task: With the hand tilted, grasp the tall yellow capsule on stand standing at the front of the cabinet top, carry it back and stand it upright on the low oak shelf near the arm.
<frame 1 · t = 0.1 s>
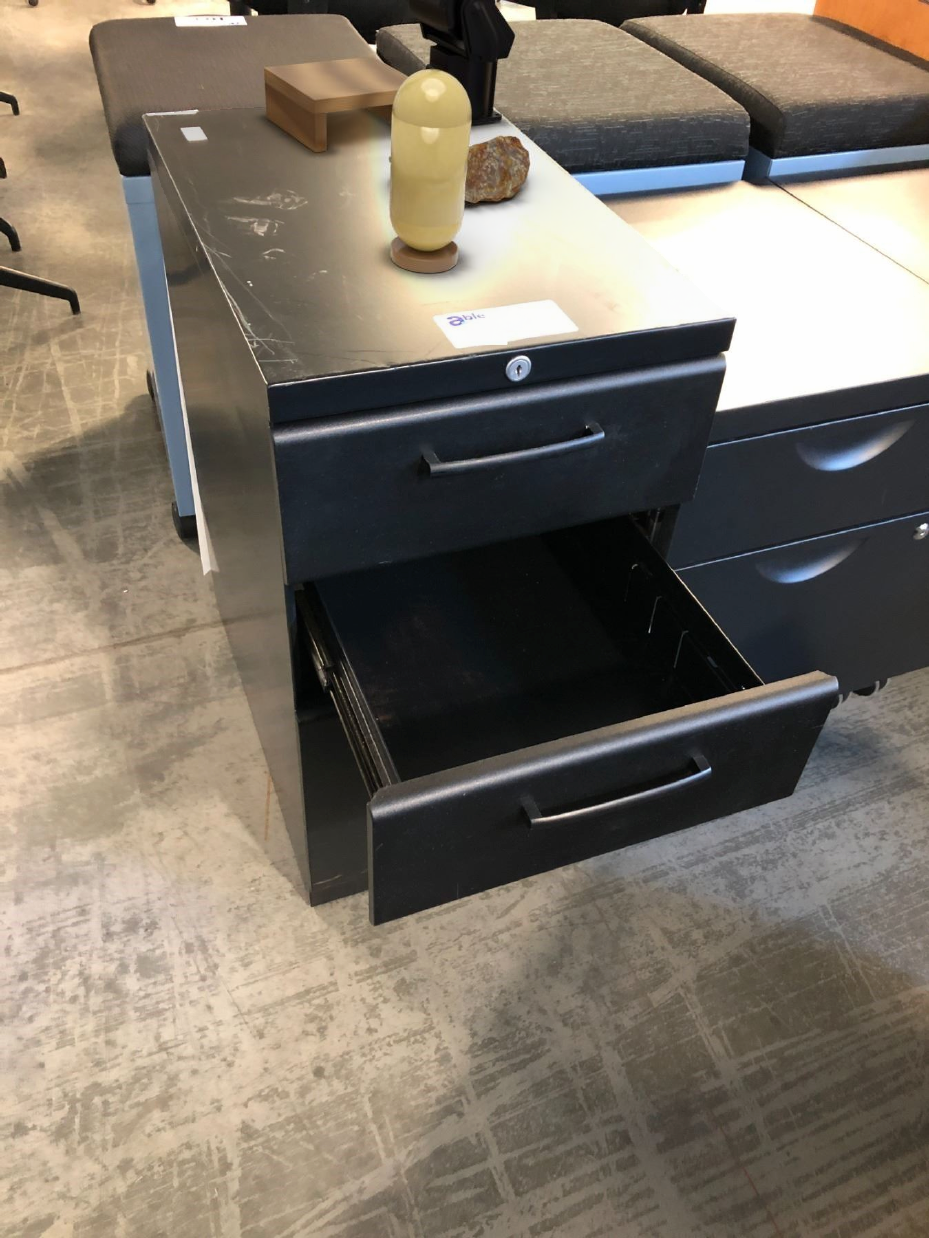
shelf: (345, 127, 95), on the table
decorative stone: (459, 189, 86), on the table
yellow capsule on stand: (423, 258, 75), on the table
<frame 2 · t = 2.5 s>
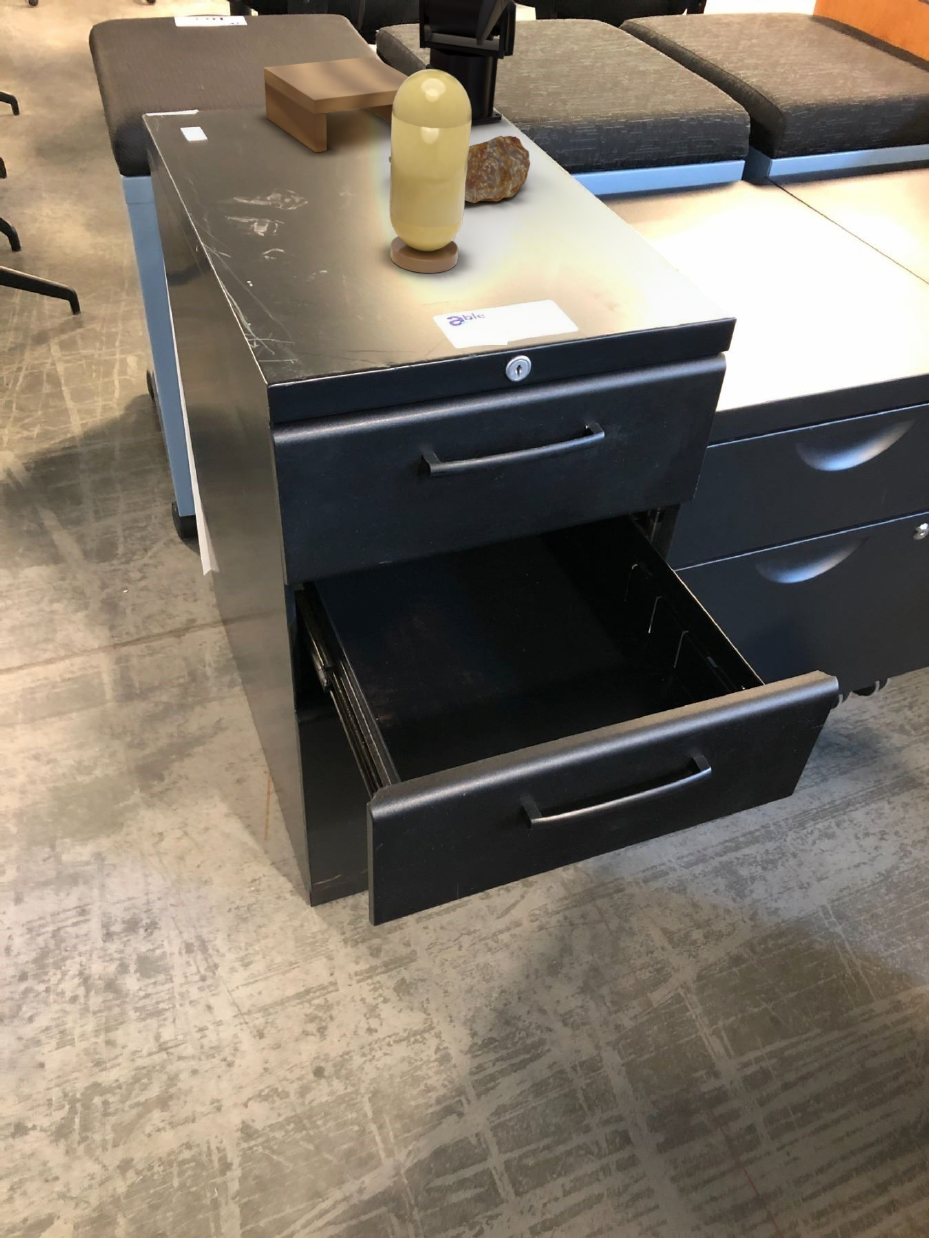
hand: (417, 34, 71), 13 cm above the table, tool tilted 40°, fingers open, 9 cm apart
nothing on the table moved.
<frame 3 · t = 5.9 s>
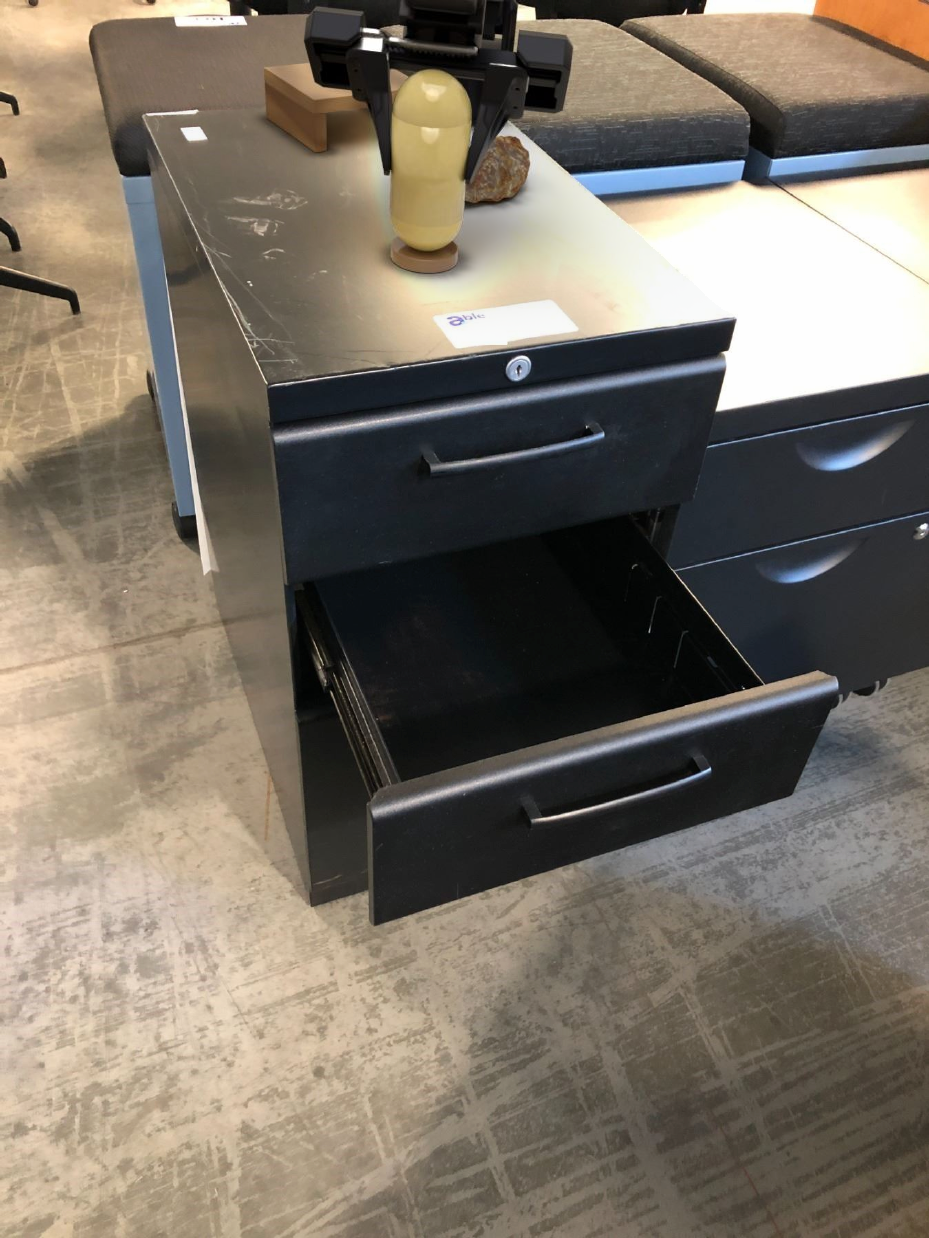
hand: (426, 177, 70), 7 cm above the table, tool tilted 45°, fingers closed on yellow capsule on stand, 5 cm apart
yellow capsule on stand: (424, 258, 75), on the table, touching gripper
everything else where it was.
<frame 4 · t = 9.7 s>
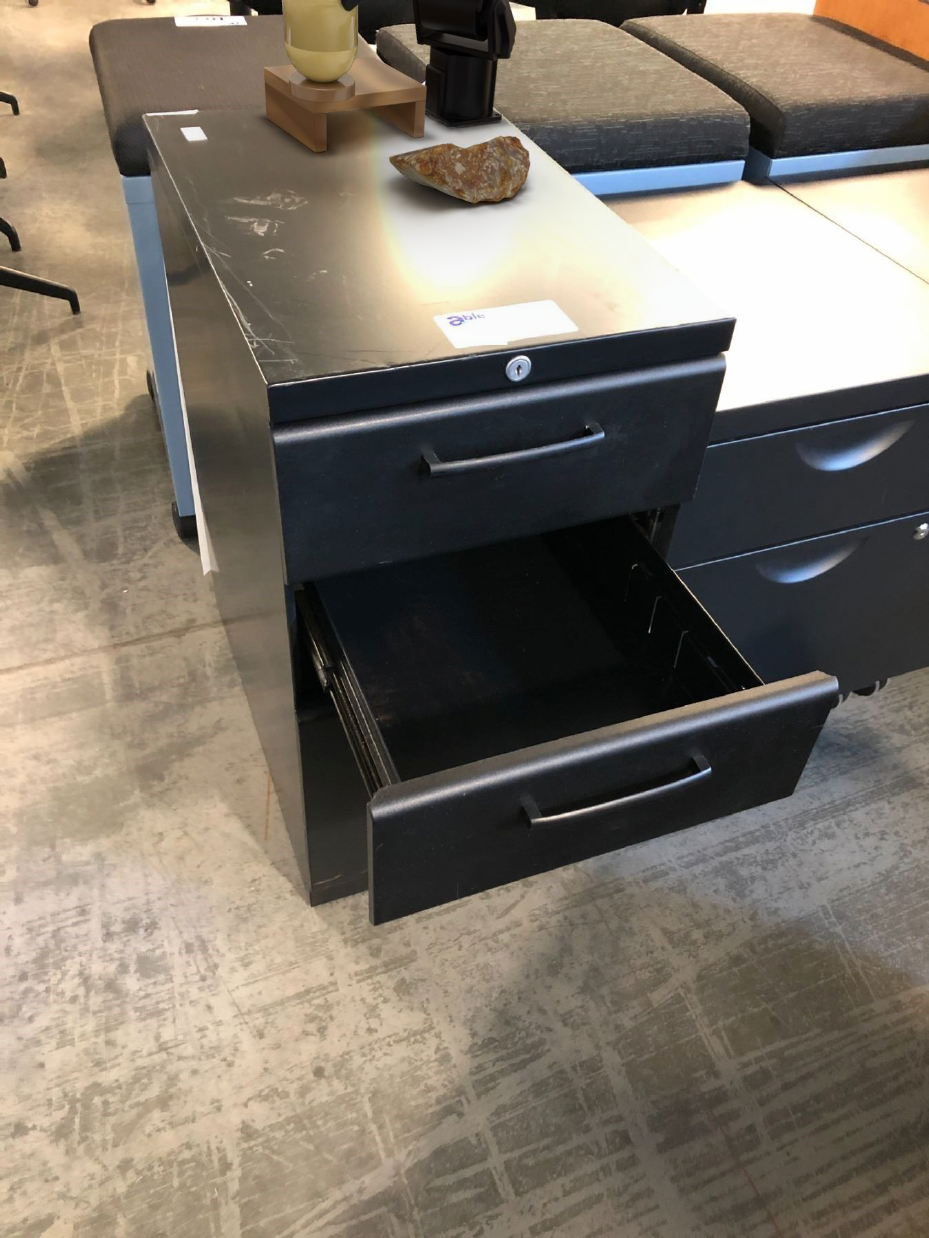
yellow capsule on stand: (322, 92, 77), point 8 cm above the table, touching gripper
everything else where it was.
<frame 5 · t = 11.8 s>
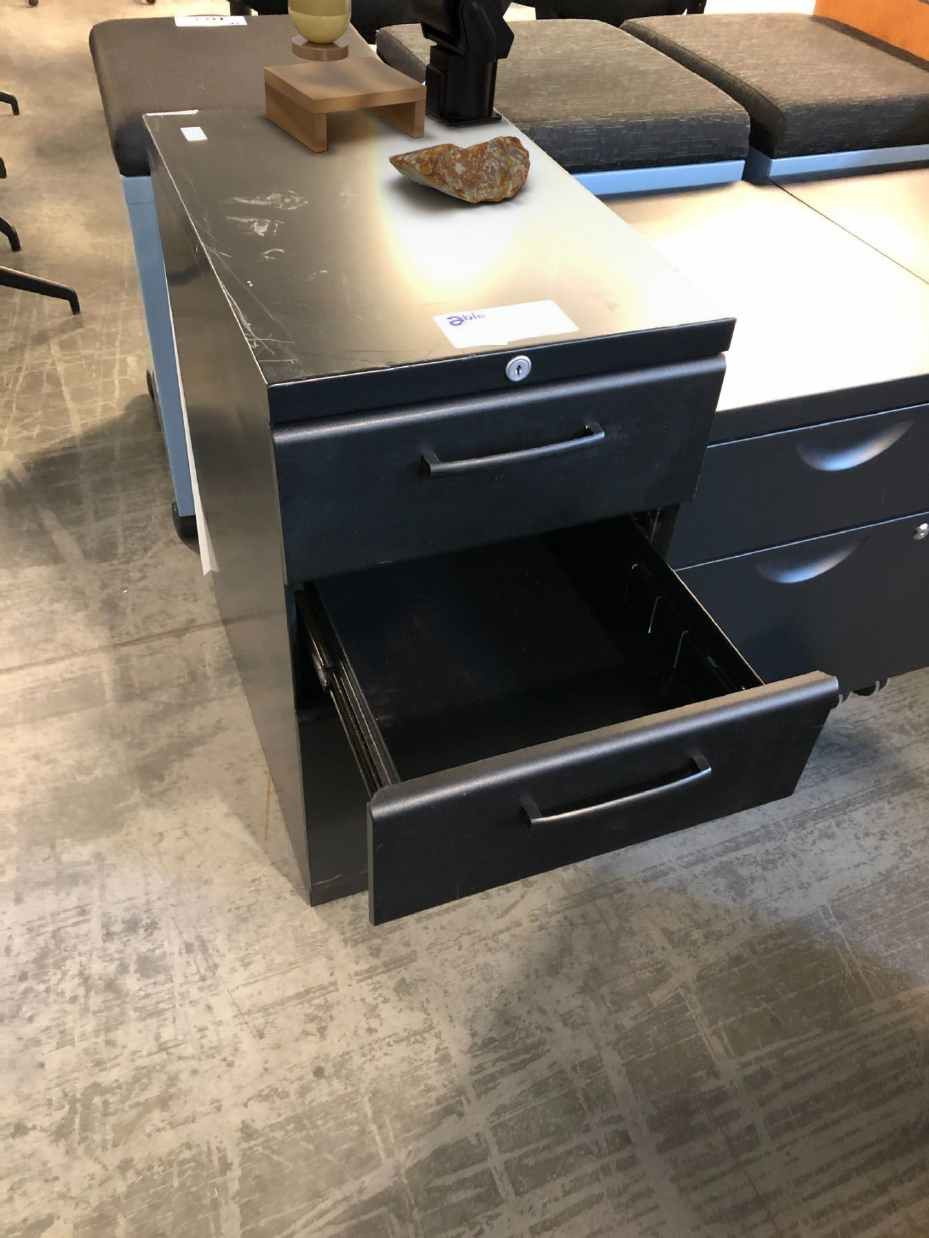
yellow capsule on stand: (320, 53, 89), point 7 cm above the table, touching gripper
everything else where it was.
when the fingers open (11 cm above the table, at t = 13.4 s): yellow capsule on stand stays where it is, resting on shelf.
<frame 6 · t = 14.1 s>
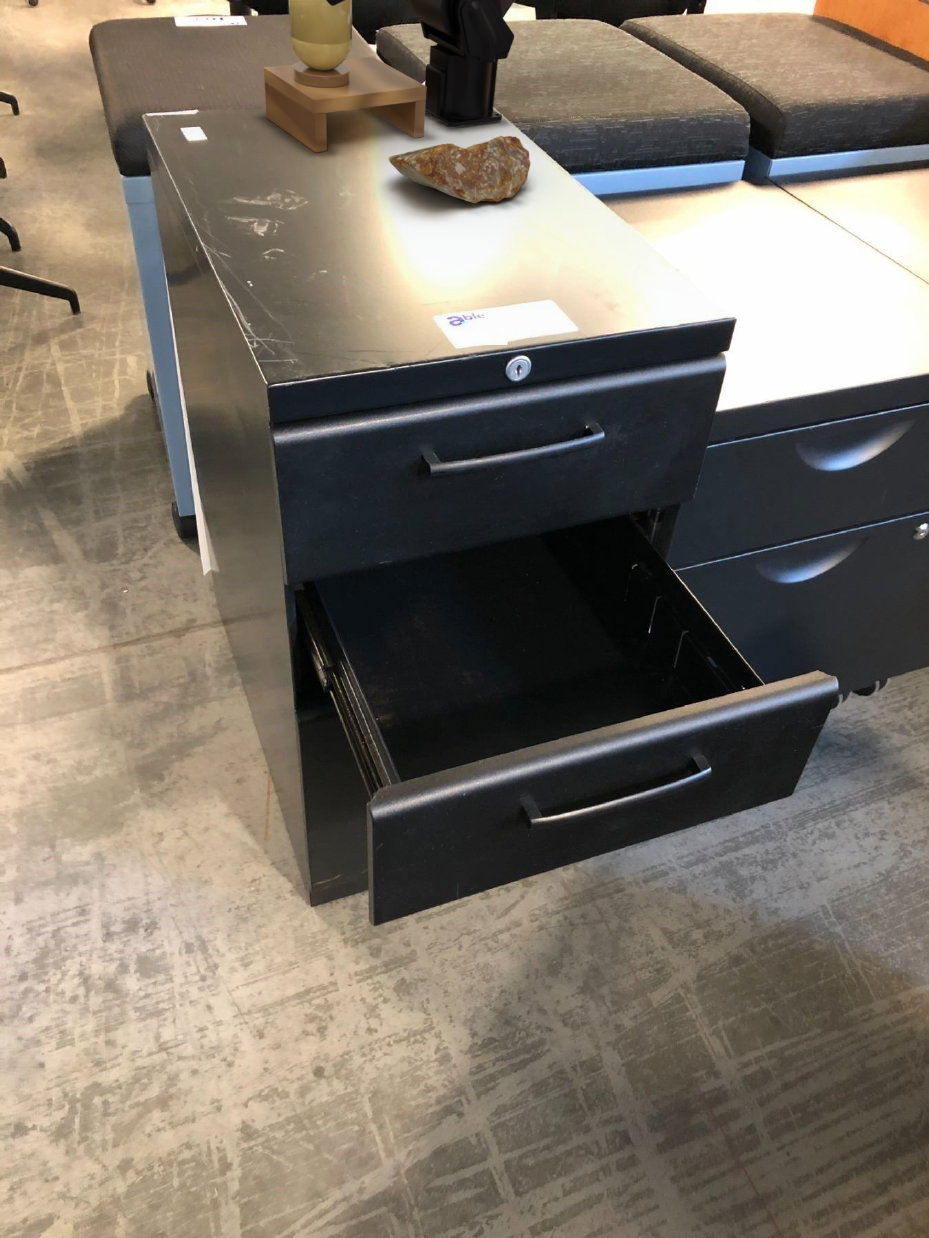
yellow capsule on stand: (321, 79, 91), point 4 cm above the table, touching shelf
everything else where it was.
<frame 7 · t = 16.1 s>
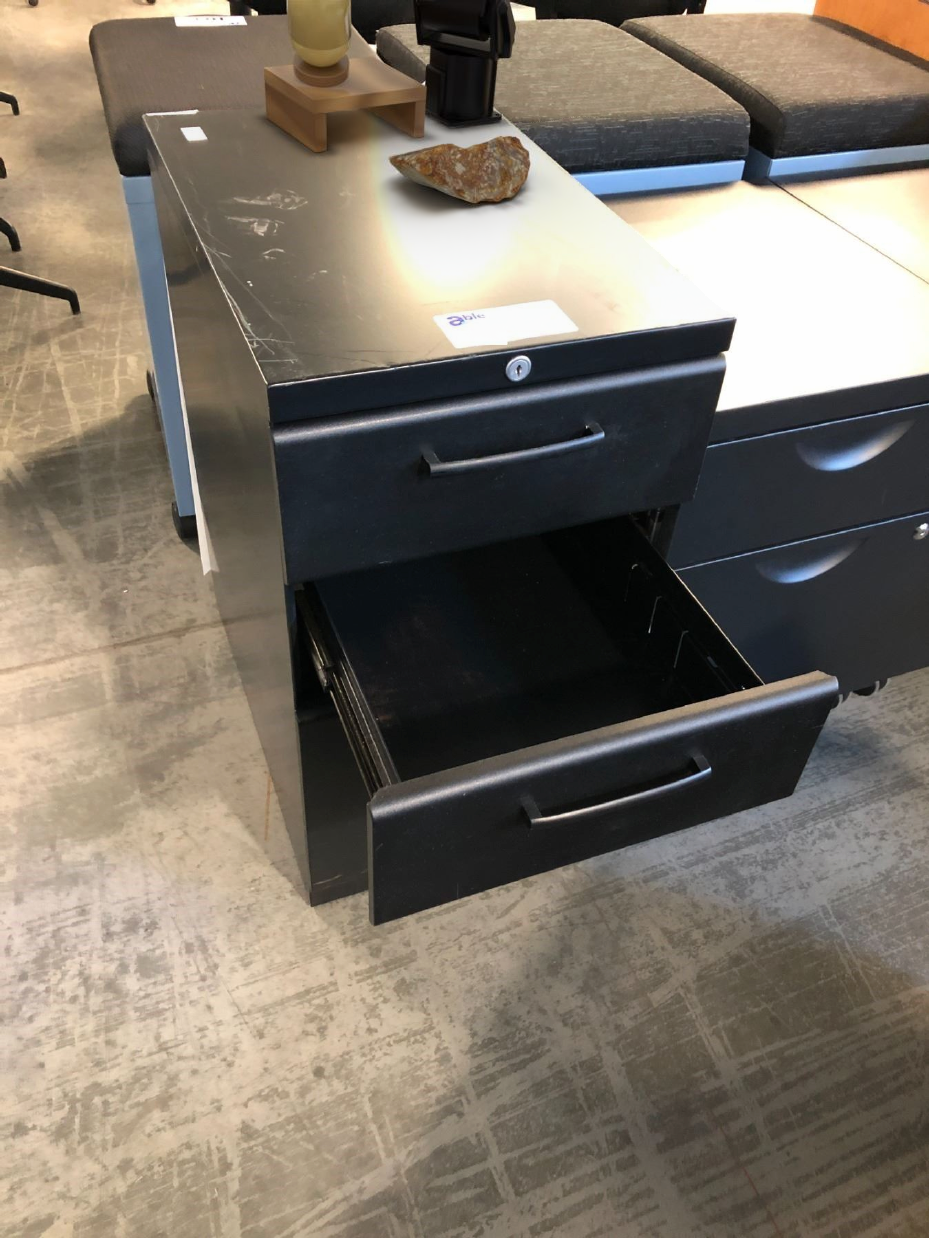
yellow capsule on stand: (321, 71, 90), point 5 cm above the table, tilted 17°, touching shelf
everything else where it was.
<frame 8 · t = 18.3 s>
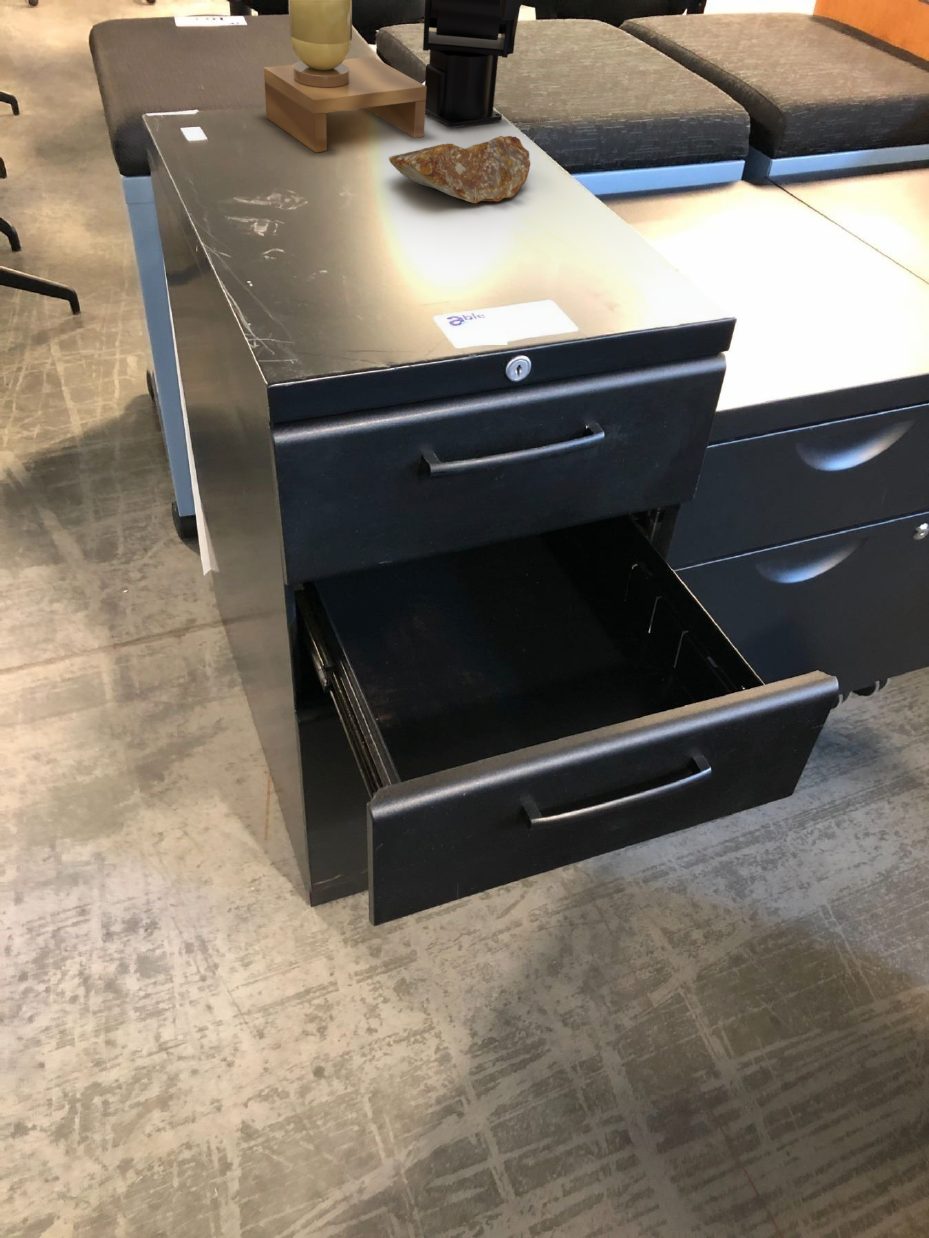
hand: (474, 5, 81), 13 cm above the table, tool pointing down, fingers open, 9 cm apart
yellow capsule on stand: (321, 79, 91), point 5 cm above the table, touching shelf
everything else where it was.
at the end: yellow capsule on stand inside the target area on the shelf (2.5 cm from its centre), point 4.5 cm above the shelf's base; yellow capsule on stand tilted 0°; the gripper is holding nothing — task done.
